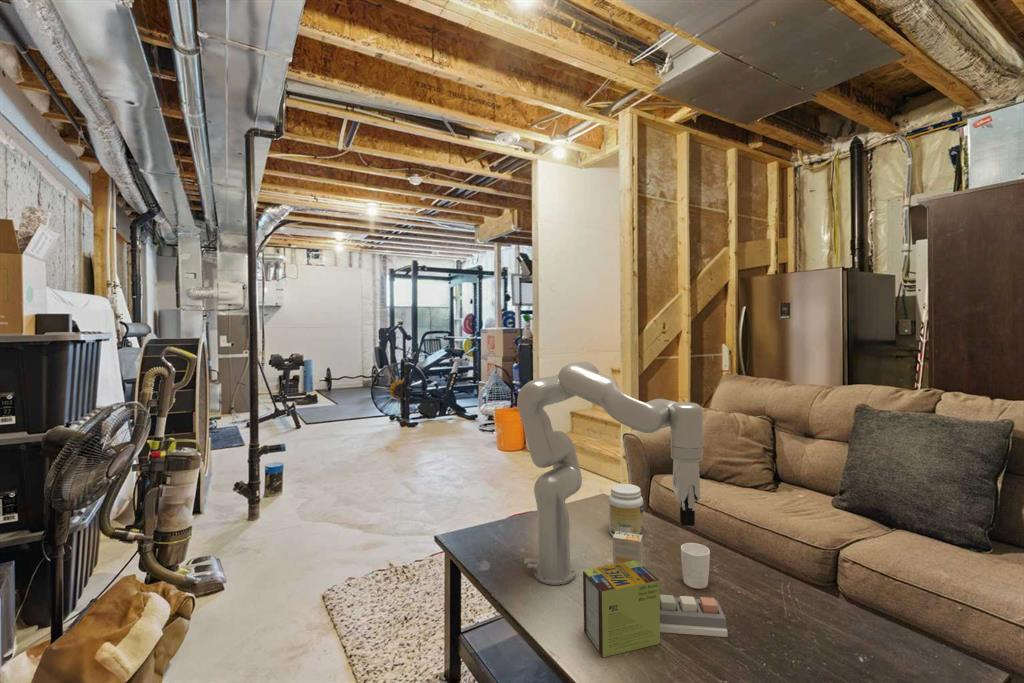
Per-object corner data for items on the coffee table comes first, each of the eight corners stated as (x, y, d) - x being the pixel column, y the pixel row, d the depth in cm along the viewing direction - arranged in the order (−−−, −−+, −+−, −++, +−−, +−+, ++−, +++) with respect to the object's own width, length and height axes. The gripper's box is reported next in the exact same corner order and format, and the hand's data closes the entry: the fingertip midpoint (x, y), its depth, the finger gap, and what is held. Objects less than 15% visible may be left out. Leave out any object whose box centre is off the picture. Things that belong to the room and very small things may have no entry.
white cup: (712, 591, 133) (712, 556, 132) (683, 588, 134) (683, 554, 134) (707, 576, 141) (706, 543, 140) (679, 574, 142) (678, 541, 142)
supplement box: (644, 577, 141) (643, 534, 140) (641, 585, 136) (640, 541, 136) (616, 572, 144) (615, 530, 144) (613, 580, 140) (612, 536, 139)
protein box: (661, 644, 112) (660, 579, 111) (602, 658, 107) (601, 591, 107) (637, 618, 122) (636, 559, 121) (582, 630, 117) (581, 569, 117)
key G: (703, 614, 117) (703, 604, 117) (700, 606, 121) (700, 597, 121) (717, 615, 117) (717, 605, 117) (714, 607, 120) (714, 597, 120)
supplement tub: (648, 542, 163) (647, 493, 163) (613, 542, 164) (612, 494, 163) (639, 527, 176) (638, 482, 175) (606, 527, 176) (605, 482, 175)
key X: (682, 612, 118) (682, 603, 118) (679, 604, 121) (679, 595, 121) (696, 613, 118) (696, 604, 117) (693, 605, 121) (693, 596, 121)
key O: (661, 611, 119) (661, 602, 119) (659, 603, 122) (659, 594, 122) (676, 612, 118) (675, 603, 118) (673, 604, 122) (673, 595, 122)
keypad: (658, 632, 116) (658, 616, 116) (652, 607, 126) (652, 593, 126) (727, 637, 113) (727, 621, 113) (716, 612, 123) (715, 597, 123)
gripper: (665, 444, 126) (666, 512, 127) (676, 460, 111) (677, 537, 112) (695, 444, 125) (695, 513, 126) (710, 461, 110) (710, 538, 111)
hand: (687, 524), depth 119 cm, fingers closed
